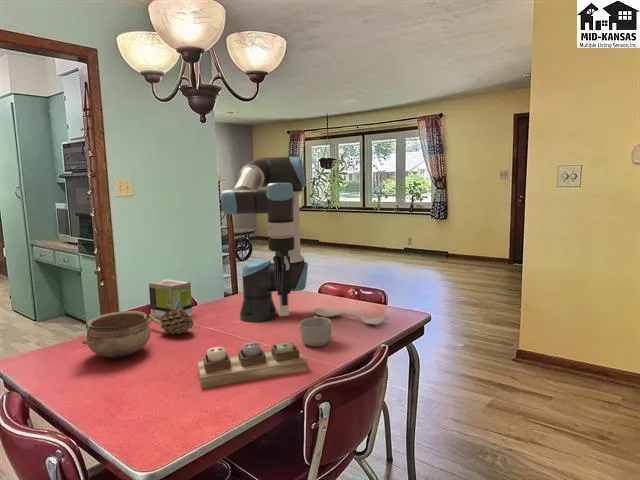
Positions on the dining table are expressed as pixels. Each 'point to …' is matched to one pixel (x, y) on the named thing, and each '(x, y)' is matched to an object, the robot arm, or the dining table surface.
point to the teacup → (315, 331)
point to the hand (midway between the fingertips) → (283, 314)
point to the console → (250, 367)
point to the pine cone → (175, 321)
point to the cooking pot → (118, 333)
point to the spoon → (331, 313)
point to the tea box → (169, 296)
